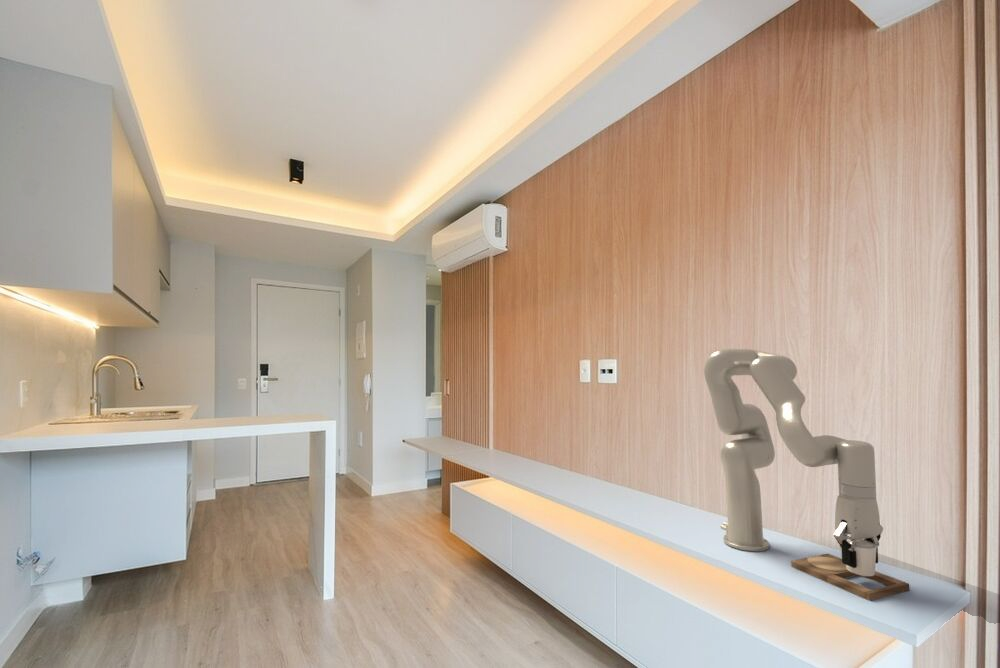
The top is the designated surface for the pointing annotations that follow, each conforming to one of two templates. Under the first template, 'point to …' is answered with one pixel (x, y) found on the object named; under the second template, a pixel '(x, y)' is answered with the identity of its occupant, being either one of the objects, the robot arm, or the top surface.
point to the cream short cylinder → (864, 558)
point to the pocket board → (836, 571)
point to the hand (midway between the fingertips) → (860, 562)
